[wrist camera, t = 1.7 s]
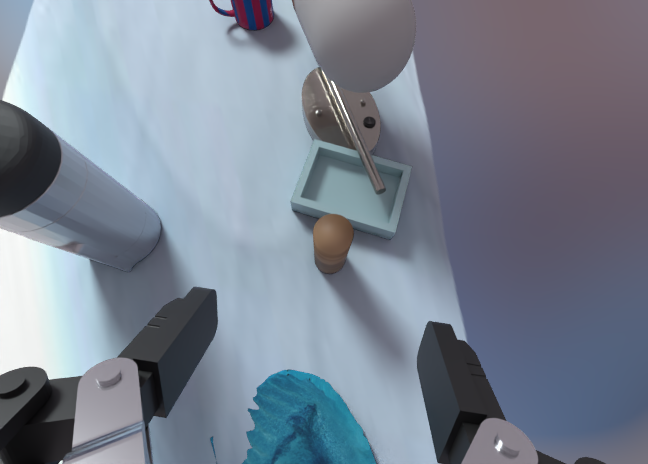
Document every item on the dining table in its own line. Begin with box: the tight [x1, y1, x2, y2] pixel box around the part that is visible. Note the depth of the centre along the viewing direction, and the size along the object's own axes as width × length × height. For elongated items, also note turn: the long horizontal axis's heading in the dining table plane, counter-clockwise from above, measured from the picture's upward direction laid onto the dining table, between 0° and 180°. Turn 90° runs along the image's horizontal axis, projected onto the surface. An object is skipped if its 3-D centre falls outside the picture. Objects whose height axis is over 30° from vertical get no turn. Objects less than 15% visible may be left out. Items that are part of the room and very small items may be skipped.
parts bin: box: [290, 139, 412, 240], centre depth 43 cm, size 10×14×3 cm
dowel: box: [313, 214, 354, 274], centre depth 36 cm, size 4×4×11 cm
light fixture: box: [292, 0, 416, 195], centre depth 39 cm, size 11×22×34 cm
